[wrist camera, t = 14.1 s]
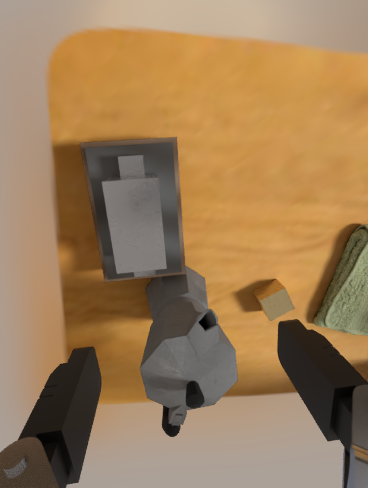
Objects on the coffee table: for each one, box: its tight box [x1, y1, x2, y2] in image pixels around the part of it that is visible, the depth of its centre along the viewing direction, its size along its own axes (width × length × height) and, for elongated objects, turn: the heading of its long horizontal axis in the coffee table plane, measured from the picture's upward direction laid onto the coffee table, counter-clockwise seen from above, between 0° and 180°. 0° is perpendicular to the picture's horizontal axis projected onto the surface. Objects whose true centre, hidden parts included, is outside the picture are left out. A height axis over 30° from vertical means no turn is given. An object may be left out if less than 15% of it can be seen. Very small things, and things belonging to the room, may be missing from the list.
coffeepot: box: [140, 266, 238, 437], centre depth 30 cm, size 15×9×18 cm, turn 165°
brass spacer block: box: [253, 279, 295, 321], centre depth 39 cm, size 4×4×3 cm
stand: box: [80, 137, 186, 282], centre depth 31 cm, size 16×10×4 cm, turn 4°
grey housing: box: [102, 155, 167, 277], centre depth 27 cm, size 5×13×5 cm, turn 4°
